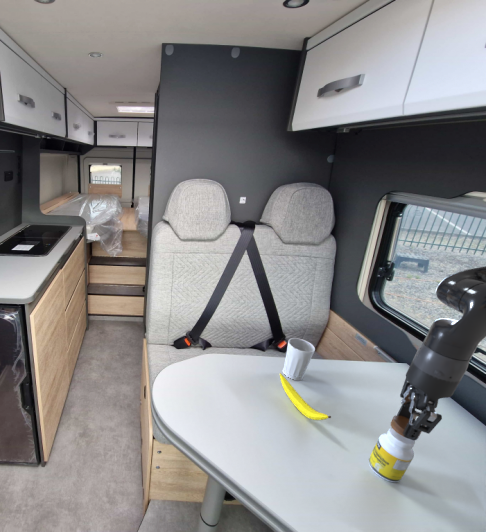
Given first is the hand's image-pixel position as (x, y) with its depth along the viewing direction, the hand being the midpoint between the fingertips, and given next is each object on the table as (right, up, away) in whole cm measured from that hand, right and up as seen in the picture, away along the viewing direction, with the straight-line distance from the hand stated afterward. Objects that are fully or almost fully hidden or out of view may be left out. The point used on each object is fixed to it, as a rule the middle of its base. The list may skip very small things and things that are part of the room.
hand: (405, 428), depth 70 cm
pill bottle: (-1, -13, +5) cm, 14 cm away
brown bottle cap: (0, -1, 0) cm, 1 cm away
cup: (-7, -1, +36) cm, 37 cm away
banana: (-12, -6, +22) cm, 26 cm away
